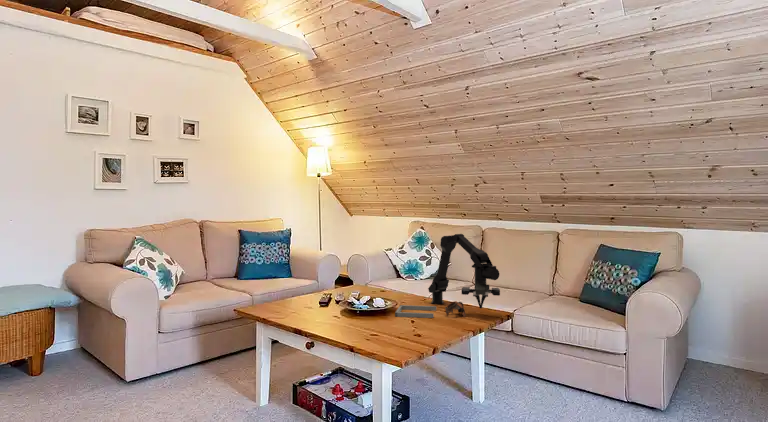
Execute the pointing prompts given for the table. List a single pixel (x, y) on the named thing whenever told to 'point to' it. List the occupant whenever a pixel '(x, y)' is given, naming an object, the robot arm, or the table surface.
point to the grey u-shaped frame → (421, 315)
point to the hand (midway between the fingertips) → (480, 308)
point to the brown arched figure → (455, 306)
